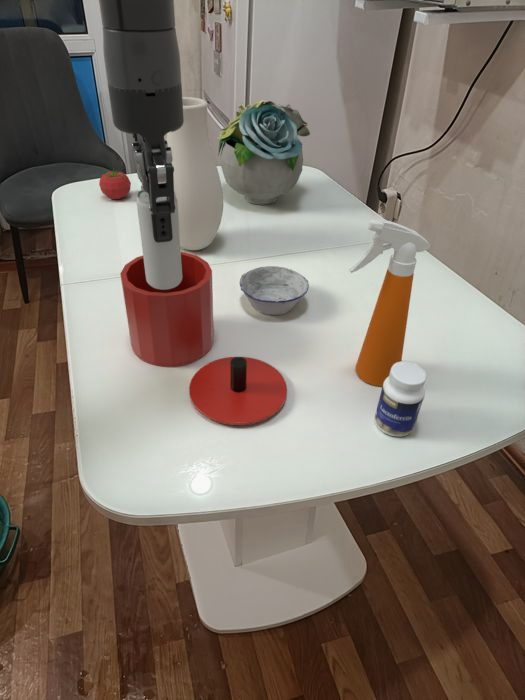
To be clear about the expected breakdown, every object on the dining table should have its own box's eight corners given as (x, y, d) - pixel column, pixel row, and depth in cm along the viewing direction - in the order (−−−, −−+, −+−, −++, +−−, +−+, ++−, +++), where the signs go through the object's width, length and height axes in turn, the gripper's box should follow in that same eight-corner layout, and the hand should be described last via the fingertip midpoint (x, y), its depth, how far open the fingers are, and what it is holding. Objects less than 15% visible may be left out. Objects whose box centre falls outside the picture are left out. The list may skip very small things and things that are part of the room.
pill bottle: (370, 431, 73) (383, 379, 67) (378, 405, 77) (391, 354, 71) (410, 443, 71) (427, 391, 65) (416, 416, 76) (433, 364, 69)
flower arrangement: (319, 193, 143) (329, 98, 128) (283, 226, 125) (291, 120, 110) (240, 176, 151) (241, 85, 136) (196, 205, 133) (192, 104, 118)
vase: (151, 242, 116) (135, 98, 97) (200, 226, 123) (194, 90, 105) (185, 266, 108) (175, 114, 89) (236, 247, 115) (236, 104, 97)
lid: (260, 442, 70) (261, 411, 67) (170, 406, 75) (167, 375, 71) (301, 379, 81) (304, 349, 77) (220, 351, 86) (219, 321, 82)
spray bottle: (329, 359, 85) (352, 209, 69) (392, 358, 86) (429, 209, 70) (337, 388, 80) (364, 232, 63) (404, 386, 81) (448, 232, 64)
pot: (184, 376, 80) (179, 305, 72) (114, 350, 85) (101, 280, 77) (227, 331, 90) (227, 263, 82) (162, 310, 95) (156, 243, 86)
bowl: (268, 331, 91) (269, 308, 88) (225, 299, 98) (225, 277, 95) (320, 307, 97) (323, 285, 94) (276, 279, 105) (278, 258, 102)
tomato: (119, 205, 131) (115, 176, 126) (95, 199, 134) (90, 170, 129) (138, 195, 137) (134, 166, 132) (114, 189, 139) (110, 161, 135)
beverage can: (139, 286, 67) (127, 197, 59) (159, 269, 70) (149, 183, 63) (171, 294, 65) (163, 205, 58) (189, 277, 69) (184, 190, 61)
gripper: (101, 65, 57) (122, 210, 68) (113, 95, 46) (136, 262, 57) (168, 64, 59) (178, 205, 70) (195, 92, 48) (202, 254, 59)
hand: (159, 230), depth 63 cm, fingers closed on beverage can, 5 cm apart
